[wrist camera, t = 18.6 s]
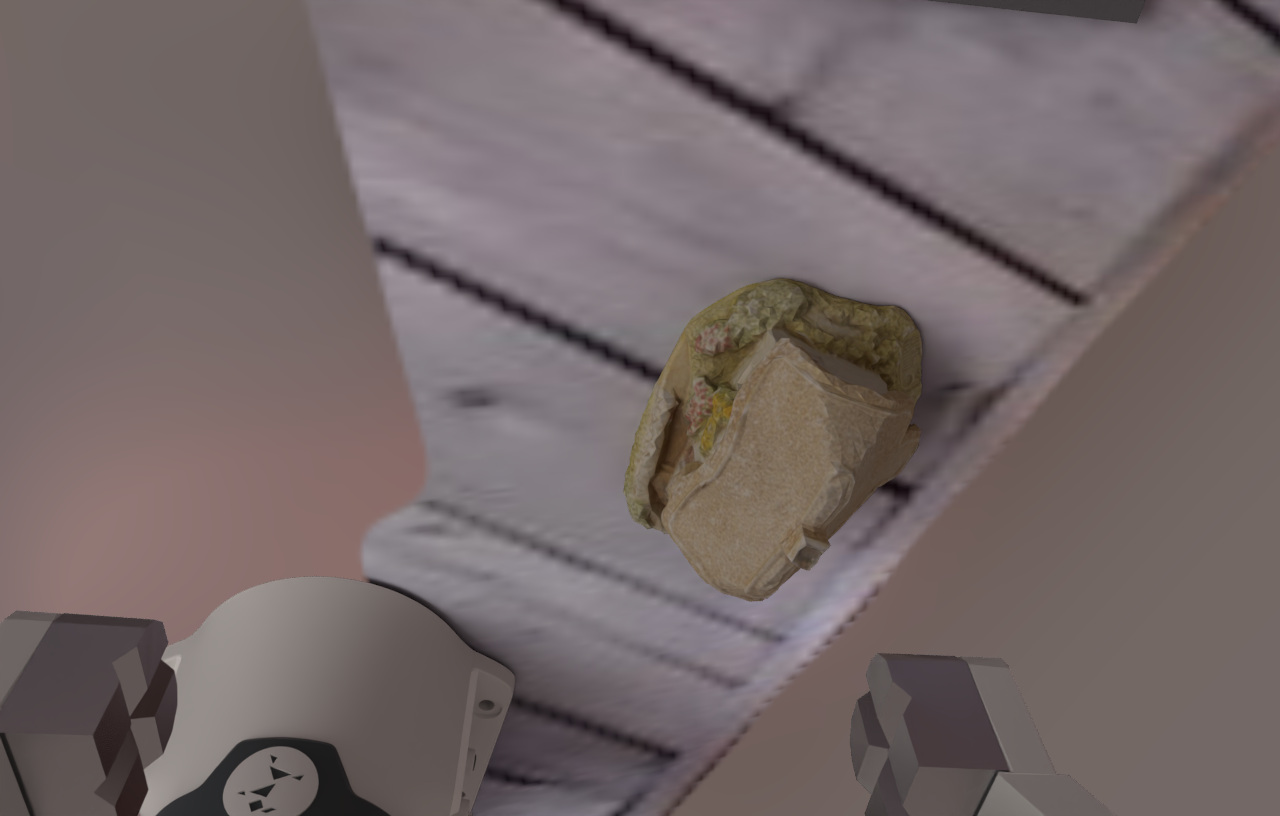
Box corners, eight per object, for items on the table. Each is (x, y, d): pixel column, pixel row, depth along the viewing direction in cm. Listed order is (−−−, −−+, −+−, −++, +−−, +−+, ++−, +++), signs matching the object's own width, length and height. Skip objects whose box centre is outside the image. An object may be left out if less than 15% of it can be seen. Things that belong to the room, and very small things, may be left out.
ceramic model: (749, 224, 41) (789, 355, 32) (965, 340, 44) (1051, 485, 36) (583, 470, 47) (581, 631, 39) (781, 554, 51) (818, 718, 42)
